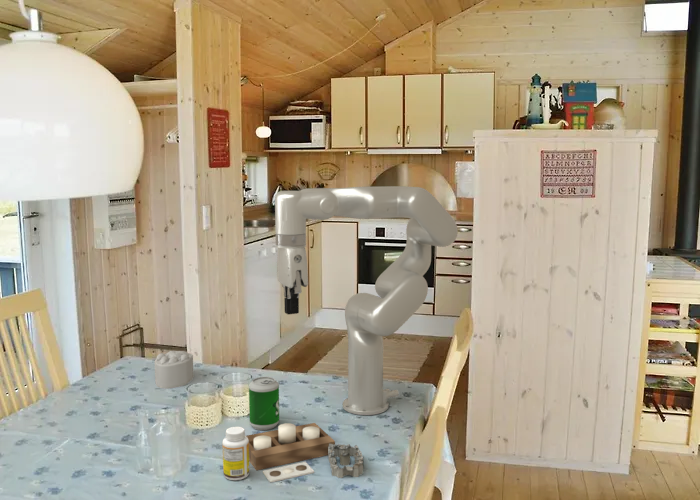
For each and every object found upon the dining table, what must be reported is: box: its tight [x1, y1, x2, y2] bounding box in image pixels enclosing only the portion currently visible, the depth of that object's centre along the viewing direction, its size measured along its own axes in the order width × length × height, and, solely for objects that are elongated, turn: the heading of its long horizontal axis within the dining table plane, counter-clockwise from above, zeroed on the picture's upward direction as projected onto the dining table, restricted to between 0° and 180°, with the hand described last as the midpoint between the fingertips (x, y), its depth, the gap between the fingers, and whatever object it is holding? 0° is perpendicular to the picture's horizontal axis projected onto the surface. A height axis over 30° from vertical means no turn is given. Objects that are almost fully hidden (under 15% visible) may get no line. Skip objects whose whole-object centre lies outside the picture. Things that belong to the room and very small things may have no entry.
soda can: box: [248, 376, 280, 431], centre depth 166 cm, size 8×8×12 cm
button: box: [303, 426, 320, 440], centre depth 155 cm, size 4×4×4 cm
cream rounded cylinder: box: [254, 436, 271, 450], centre depth 149 cm, size 4×4×4 cm
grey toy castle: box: [327, 443, 364, 479], centre depth 144 cm, size 11×8×4 cm
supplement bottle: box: [221, 426, 250, 481], centre depth 140 cm, size 6×6×10 cm
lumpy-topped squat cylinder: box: [154, 350, 194, 390], centre depth 200 cm, size 10×13×9 cm
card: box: [262, 461, 315, 483], centre depth 142 cm, size 10×5×1 cm, turn 116°
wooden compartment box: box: [245, 422, 336, 471], centre depth 152 cm, size 19×12×3 cm, turn 116°
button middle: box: [277, 422, 297, 445], centre depth 152 cm, size 4×4×4 cm
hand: (291, 313), depth 164 cm, fingers closed
